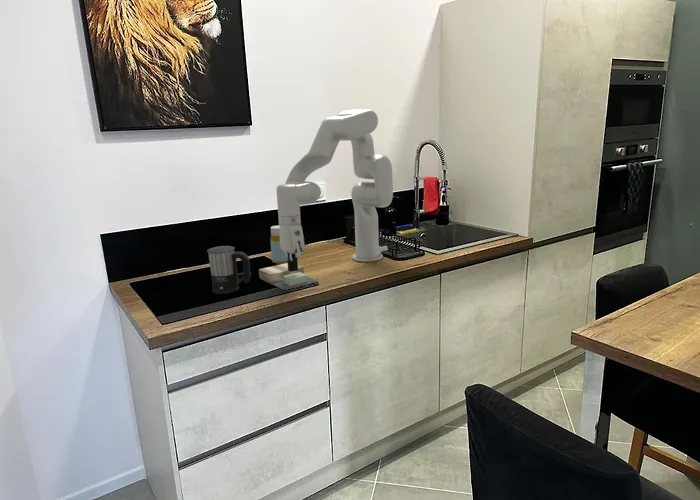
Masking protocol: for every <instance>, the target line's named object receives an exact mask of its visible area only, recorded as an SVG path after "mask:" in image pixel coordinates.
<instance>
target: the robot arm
mask: <svg viewBox="0 0 700 500" xmlns="http://www.w3.org/2000/svg"><path fill="white" fill-rule="evenodd" d="M378 124H379V117H378V115H377V113H376V112H375V111H373V109H370V108H369V109H368V108H366V109H365V108H364V109H351V110H350V109H349V110H344V111H342V112H339V113H338V115H337V116H330V117H326V118H325V119H324V120H323V121H322V122H321V124H320V126H319V129H318V130H317V132H316V135H315V137H314V139H313V142H312V144H311V147H310V149H309V150H308V152H307V153H306V154H305V155H304V156H303V157H301V159H299V160H298V161H297V163H296V164H295V165H294V166H293V167H292V169H291V170H290V172H289V174H288V176H287V179H286V180H285V183H283V184H282V183H281V184H279V185H277V187H276V200H277V202H276V203H277V204H276V205H277V214H278V217H277V218H278V225H280V247H281V249H282V250H283V252H284V253H285V254H286V258H287V263H288V271H290V272H293V271H297V270H298V265H299V262H298V261H299V258H301V257H302V254H301V253H304V252H305V250H306V249H305V248H306V247H305V246H306V245H305V238H304V232H303V227H302V224H301V223H302V221H301V208H300V206H301V204H314V203H315V202H317V201H318V200H319V199H320V197H321V195H322V192H321V191H322V190H321V187H320V185H319V184H317V183H316V182H313V181H307V179H308V177H309V176H310V175H311V174H313V173H314V172H315V171H317V170H319V169H322V168H323V167H326V166H327V165H329V164H330V163H331V161H332V160H333V157H334V154H335V152H336V150H337V148H338V146H339V143H340V142H341V141H342V142H345V141H350V143H351V147H352V162H353V163H352V164H353V173H354V175H355V177H357V178H359V179H362V180H363V179H364V180H374V182H371V181H360V182H357V183H355V184H354V185H353V187H352V188H351V192H350V193H351V202H352V205H353V210H354V212H353V214H354V232H355V233H354V234H355V235H354V236H355V253H353V254H352V256H351V257H352V259H353V261H355V262H356V261H357V262H361V263H368V262H369V263H371V262H377V261H380V260H382V259H383V254H382V252H385V251H388V246H387V245H384V246H381V245H379V216H378V215H379V214H378V212H377V209H376V208H387V207H388V206H390V205H391V203H392V201H393V198H394V183H393V182H394V181H393V180H394V179H393V178H394V177H393V166H392V163H391V160H390V158H388V156H386V155H383V154H376V153H375V145H374V139H373V136H372V135H371V134H372V133H373V132H374V131H375V130H376V128H377V127H378Z"/></svg>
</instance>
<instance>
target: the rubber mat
mask: <svg viewBox="0 0 700 500" xmlns="http://www.w3.org/2000/svg"><path fill="white" fill-rule="evenodd" d="M307 281H308V282H305V283H301V284H297V285H293V286H289V285H287V284H285V283H283V280H282V281H278V282H274V283H271V284H270V285H272V286H273V285H274V287H275V286H276V287H275V288H277V287H278V288H277V289H279V288H280V289H279V290H281V289H282V290H281V291H283V290H286V291H289V290H288V289H290V290H293V289H292V288H294V289H296V288H295V287H298V288H301V287H300V286H302V287H305V285H306V286H310V285H313V284H312V283H314V284H317V283H319V282H320V281H319V280H317V279H315V278H312V277H310V276H308V275H307ZM309 284H310V285H309Z"/></svg>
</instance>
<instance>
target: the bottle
mask: <svg viewBox="0 0 700 500" xmlns="http://www.w3.org/2000/svg"><path fill="white" fill-rule="evenodd" d="M269 239H270V253H271V262H272V263H273V264H274V263H276V264H275V265H281V264H285V263H287V258H286V254H285V253H284V252H283V250H282V249H281V247H280V225H279V224H278V225H272V226H271V227H270V238H269Z"/></svg>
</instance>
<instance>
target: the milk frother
mask: <svg viewBox="0 0 700 500" xmlns="http://www.w3.org/2000/svg"><path fill="white" fill-rule="evenodd" d="M206 252H207V253H208V260H209V267H210V273H211V274H210V275H211V284H212V285H211V286H212V293H214V294H221V295H222V294H228V293H229V294H230V293H234V292H236V291H238V290H239V289H240V285H239V284H241V283H242V282H244V283H245V284H248V283H249V282H250V280H251V275H252V272H251V265H250V258H249V256H248V254H247V253H246V252H243V251H235V246H231V245H221V246H214V247H211V248H208V249H207V251H206ZM237 259H239V260H241V262H242V272H240V273H238V264H237V263H238V262H237Z"/></svg>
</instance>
